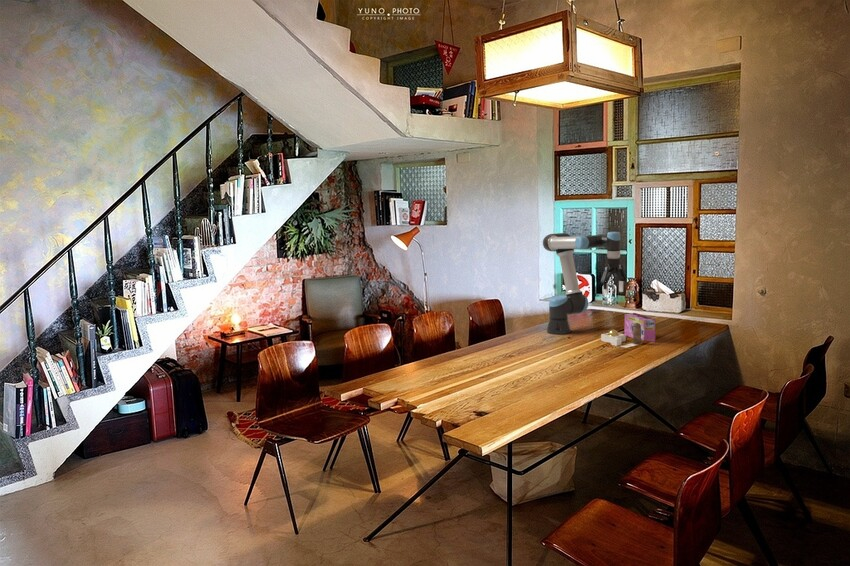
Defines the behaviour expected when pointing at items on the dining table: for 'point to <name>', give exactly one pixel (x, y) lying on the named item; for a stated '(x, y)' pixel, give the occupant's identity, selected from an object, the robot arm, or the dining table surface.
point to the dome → (613, 333)
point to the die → (616, 341)
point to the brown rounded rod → (636, 333)
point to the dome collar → (608, 338)
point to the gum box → (646, 326)
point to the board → (629, 345)
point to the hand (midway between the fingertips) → (613, 293)
